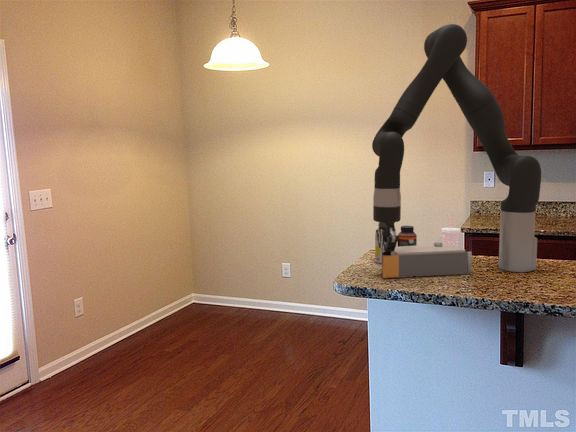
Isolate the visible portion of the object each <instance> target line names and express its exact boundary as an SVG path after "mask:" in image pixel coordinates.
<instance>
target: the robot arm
mask: <svg viewBox="0 0 576 432" xmlns="http://www.w3.org/2000/svg"><path fill="white" fill-rule="evenodd" d="M467 43H468V36H467V33H466V31H465V29H464V28H463V27H462V26H461V25H458V24H455V23H449V24H445V25H443V26H441V27H439V28H437V29H436V30H434V31H432V32H431V33H429V34H428V35H427V36H426V38H425V40H424V44H423V51H424V54H425V56H426V58H427V59H426V61H425V63H424V64H423V66H422V68H421V69H420V70H419V72H417V75H415V77H414V78H413V80H412V81H411V82H410V83H409V84H408V86H407V87H406V88H405V90H404V92H403V93H402V94H401V96H400V97H399V98H398V100H397V103H396V104H395V106H394V108H393V110H392V111H391V113H390V115H389V117H388V118H387V119H386V120H385V122H384V123H383V124H382V126H381V127H380V128H379V130H378V131H377V132H376V134H375V136H374V138H373V139H372V144H371V145H372V146H371V148H372V151H373V153H374V155H376V156H377V157H379V158H378V167H377V168H376V169H375V172H374V188H373V189H374V190H373V200H372V201H373V204H372V205H373V207H372V209H373V210H372V211H373V213H372V216H373V217H372V219H373V221H374V222H377V223H378V222H379V226H378V228H377V229H376V230H375V232H376V234H377V239H378V244H379V248H381V251H382V256H385V255H391V252H392V251H394V250H395V247H397V245H398V234H397V230H396V228H395V223H399V222H400V221H401V213H402V212H401V210H402V209H401V208H402V194H401V171H402V170H401V169H402V166H403V161H404V155H405V142H404V139H403V137H404V136H405V134H406V133H407V131H409V130H411V129H412V128H413V127H414V125H415V124H416V122H417V121H418V119H419V117H420V115H421V113H422V112H423V110H424V108H425V107H426V105H427V103H428V101H429V100H430V98H431V96H432V95H433V93H434V92H435V90H436V89H437V87H438V85H439V84H440V82H441V81H442V80H443V81H444V83H445V84H446V86H447V88H448V89H449V92H450V93H451V95H452V97H453V98H454V100H455V102H456V103H457V105H458V107H459V108H460V110H461V112H462V114H463V116H464V117H465V119H466V121H467V122H468V124H469V126H470V128H471V129H472V130H473V133H474V134H475V135H476V138H477V139H478V140H479V142H480V143H481V146H482V147H483V148H484V150H485V152H486V154H487V156H488V159H489V161H490V163H491V165H492V168H493V170H494V173H495V175H496V177H497V178H498V180H499V181H500V182H501V183H502V184H503V185H505V186H508V187H509V188H508V195H507V196H506V198H505V199H503V200H502V201H501V202H500V215H499V216H500V217H499V220H500V222H499V245H498V246H499V247H498V250H499V251H498V269H499V270H502V271H506V272H514V273H527V272H532V271H536V270H537V255H538V253H537V252H538V238H537V237H536V236H535V231H536V229H535V228H536V209H537V207H536V206H537V205H538V203H539V200H540V193H541V183H542V167H541V164H540V162H539V160H537V158H536V157H534V156H532V155H519V154H518V153H517V151H516V150H515V149H514V148H513V145H512V144H511V143H510V140H509V139H508V136H507V133H506V123H505V116H504V112H503V110H502V108H501V106H500V104H499V102H498V100H497V98H496V96H495V95H494V93H493V92H492V91H491V89H490V88H489V87H488V86H487V85H486V84H485V83H483V82H482V81H481V80H480V79H479V78H478V77H476V75H474V74H473V73H472V72H471V71H470V69H468V67H467V66H466V64H465V63H464V61H463V59H462V57H461V55H462V54H463V53H464V51H465V50H466V47H467ZM395 233H396V236H395Z"/></svg>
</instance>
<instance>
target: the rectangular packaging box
mask: <svg viewBox="0 0 576 432" xmlns="http://www.w3.org/2000/svg"><path fill="white" fill-rule="evenodd" d="M451 252H466V249H464V248H462V247H460V246H458V247H457V246H455V245H452V244H443V242H434V243H433V244H427V245H425V244H424V245H416V246H399V247H398V246H396V247H395V250H394V251H392V252H391V255H410V254H431V253H451ZM465 274H466V273H459V274H458V275H465ZM448 275H449V276H451V275H454V274H441V275H440V276H448ZM429 276H430V277H431V276H434V275H422V276H421V277H429ZM411 277H413V276H404V277H403V278H411ZM413 278H414V277H413Z"/></svg>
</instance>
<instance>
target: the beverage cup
mask: <svg viewBox="0 0 576 432" xmlns="http://www.w3.org/2000/svg"><path fill="white" fill-rule="evenodd" d="M449 217H450V219H449V222H450V225H449V227H442V228H441V229H440V230H441V231H440V232H442V233H441V236H442V243H443V244H452V245H455V246H457V247H459V241H460V233H461V228H458V227H453V226H452V225H453V218H452V217H453V214H452V213H450V215H449Z"/></svg>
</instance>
